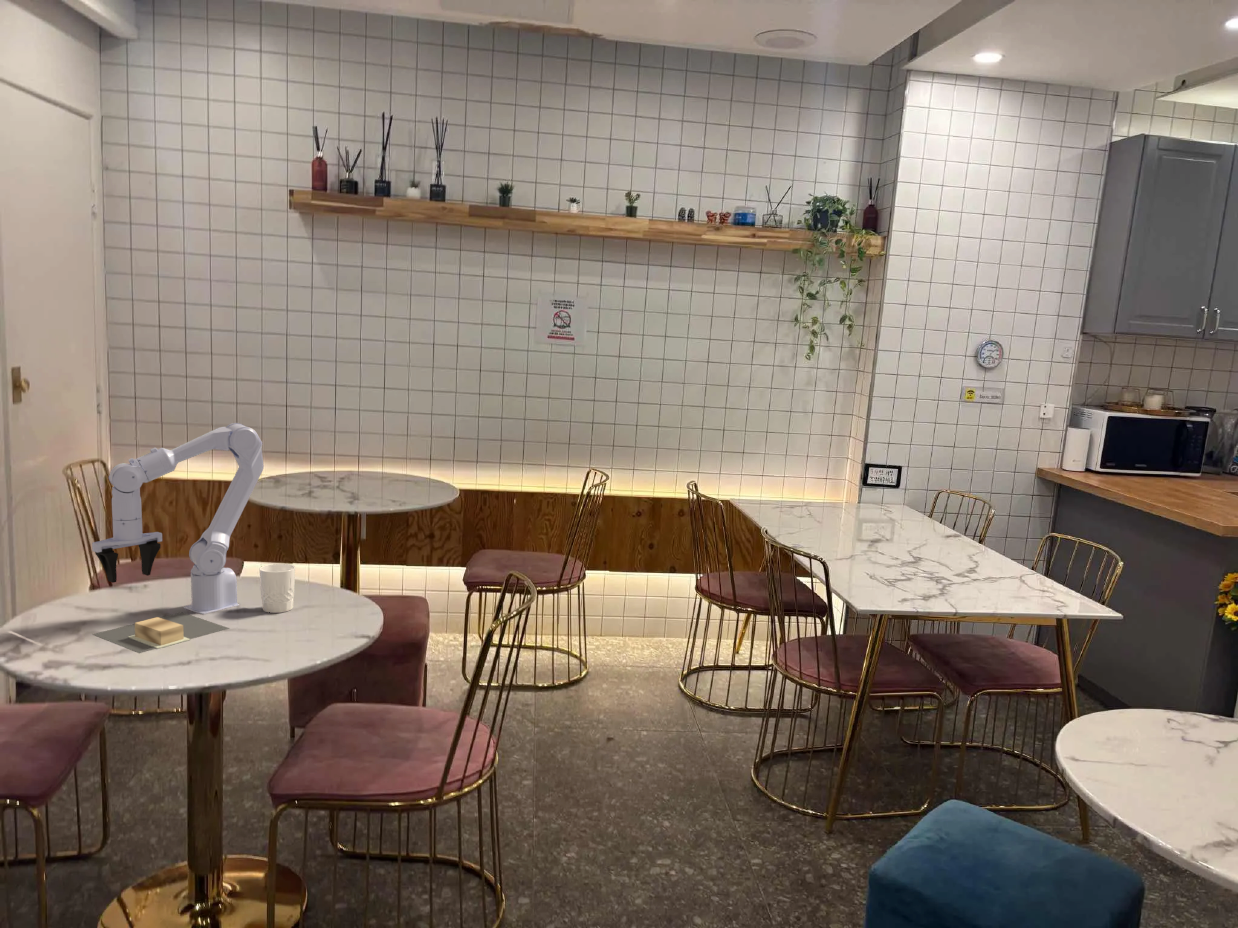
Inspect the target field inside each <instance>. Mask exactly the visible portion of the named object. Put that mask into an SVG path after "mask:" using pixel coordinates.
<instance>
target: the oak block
mask: <svg viewBox="0 0 1238 928" xmlns="http://www.w3.org/2000/svg"><path fill="white" fill-rule="evenodd" d="M134 624H135V637H138V638H141V639H143V640H146V641H149V642H152V643H155V644H158V645H165V644H168V643H171V642H175V641H178V640H182V639H184V635H183V625H181V624H178V623H175V622H171V621H168V620H165V619H162V618H160V617H158V616H156V617H153V618H148V619H144V620H141V621H136V622H134Z"/></svg>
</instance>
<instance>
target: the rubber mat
mask: <svg viewBox="0 0 1238 928" xmlns="http://www.w3.org/2000/svg"><path fill="white" fill-rule="evenodd" d="M159 618H162V619H165V620H168V621H171V622H175V623H178V624H181V625H183V635H184V639H182V640H178V641H175V642H171V643H168V644H165V645H158V644H155V643H152V642H149V641H146V640H143V639H141V638H138V637H135V623H133V624H129V625H124V626H121V627H117V628H116V627H115V628H111V629H109V630H108V629H107V630H103V631H100V632H96V633H92V635H93V636H95V637H98V638H100V639H103V640H105V641H108V642H110V643H112V644H115V645H118V646H120V647H123V648H125V649H128V650H130V651H133V652H136V653H138V654H142V653H146V652H149V651H152V650H157V649H162V648H165V647H169V646H174V645H177V644H181V643H184V642H188V641H190V640H192V639H193V640H194V639H196V638H200V637H203V636H207V635H210V634H215V633H218V632H219V633H220V632H223V631H226V630H230V627H227V626H225V625H221V624H218V623H215V622H212V621H210V620H207V619H203V618H202V617H201V618H200V617H197V616H195V615H192V614H188V613H186V612H176V613H173V614H170V615H166V616H162V617H159Z"/></svg>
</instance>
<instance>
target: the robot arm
mask: <svg viewBox="0 0 1238 928" xmlns="http://www.w3.org/2000/svg"><path fill="white" fill-rule="evenodd" d="M262 447H263V441H262V440H261V438H260V436H259V434H258V433H257V431H256V430H255V429H253V428H251V427H249V426H246V425H244V424H243V423H240V422H232V423H229V424H228V425H226V426H220V427H217V428H215V429H213V430H210V431H208V432H206V433H203V435H199V436H198V437H196V438H193V439H191V440H188V441H187V442H185V443H182V444H181V445H178V446H177V447H175V448H172V449H168V448H164V447H160V448H157V447H153V448H151V449H149V451H150V452H149V453H148V452H147V453H146V454H144V455H142V456H139V457H136V458H133V457H131V458H129V459H127V460H128V462H126V463H124V462H122V463H118V464H116V465H115V466H114V467H112V469H111V470H110V472H109V475H108V480H109V482H110V484H111V486H112V487H111V489H112V490H111V496H112V498H111V514H112V537H109V538H106V539H103V540H99V541H95V542H94V541H92V543H91V547H92V550H91V551H92V552H94V554H95V556H96V557H97V558H98V560H99V562H100V563H101V565H102V567H103V569H104V571H105V575H106V578H107V581H108V582H110V583H113V584H114V583H117V574H118V573H117V563H118V559H119V558H118V557H119V553H118V552H115V550H116V549H120V548H126V547H132V546H138V549H139V553H140V561H141V572H142V575H143V576H151V573H152V569H153V565H154V562H155V558H156V556H157V554H158V553H159V551H160V550H161V548H162V547H161V542H163V533H162V532H159V531H155V532H146V533H143V515H142V514H143V513H142V512H143V510H142V497H141V487H142V485H143V484H144V483H147V484H148V483H149V482H152V481H153V480H156V479H159V478H161V477H163V476H165V475H167V474H170V473H172V472H175V470H176V467H177V465H178V464H179V463H181V462H184V461H186V460H189V459H191V458H194V457H197V456H198V455H199V456H200V455H201V454H204V453H206V452H209V451H212V450H217V451H226V452H227V451H228V452H229V451H230V452H231V453H232V455H233V456H234V459H235V462H236V463H237V465H238V468H237V470H236V472H235V474H234V476H233V478H232V480H231V482H230V484H229V486H228V488H227V491H226V492H225V494H224V496H223V498H222V501H221V502H220V504H219V506H218V508H217V510H216V512H215V514H214V516H213V518H212V520H211V522H210V525H209V526H208V527H207V528H206V529H205V530H204V532H202V534H201V536H200V538H199V539H198V540H197V541H196V542H194V543H193V544H191V546H190V549H189V552H188V553H189V554H188V556H189V559H190V561H191V562H192V563H193V566H192V568H191V569H190V592H191V604H189V605H185V606H183V609H185V610H189V611H191V612H194V613H197V614H200V615H207V614H211V613H215V612H218V611H223V610H227V609H231V608H235V607H239V606H240V603H238V581H237V576H236V573H235V572H234V570H233V569H232V568H230V567H225V565H226V563H227V553H228V552H227V551H228V550H229V547H230V538H231V535H232V533H233V532H234V529H235V527H236V525H237V523H238V521H239V519H240V517H241V515H242V514H243V511H244V509H245V507H246V506H247V503H248V501H249V500H250V497H251V495H252V493H253V492H254V489H255V487H256V485H257V483H258V481H259V478H260V477H261V475H262V473H263V471H264V467H265V465H264V458H263V448H262Z"/></svg>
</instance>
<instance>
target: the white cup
mask: <svg viewBox="0 0 1238 928" xmlns="http://www.w3.org/2000/svg"><path fill="white" fill-rule="evenodd" d="M295 581H296V566H295V565H293V564H291V563H271V564H266V565H263V566H261V567H259V584H260V596H261V604H262V610H263V612H266V613H269V612H270V614H279V613H280V614H281V613H286V612H289V611H292V609H294V598H295V585H296V584H295V583H296V582H295Z"/></svg>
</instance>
